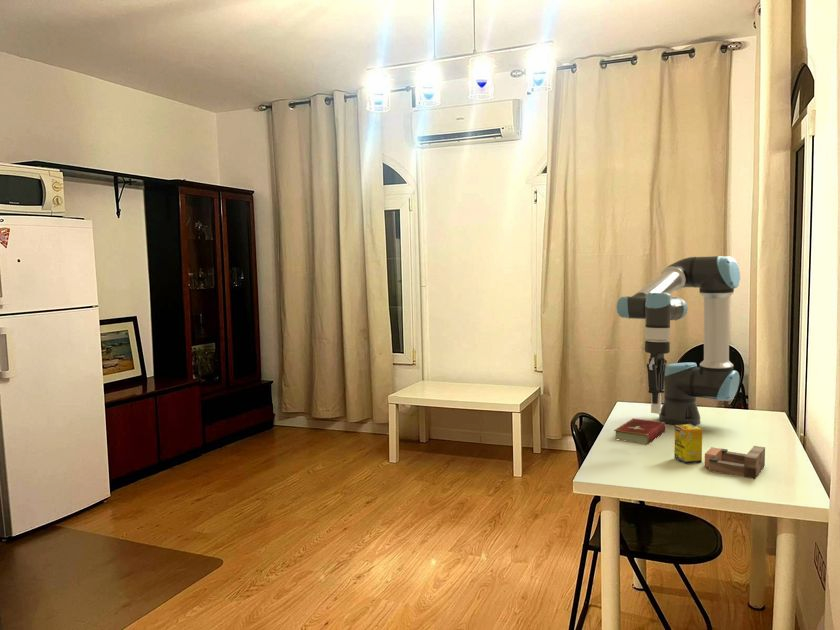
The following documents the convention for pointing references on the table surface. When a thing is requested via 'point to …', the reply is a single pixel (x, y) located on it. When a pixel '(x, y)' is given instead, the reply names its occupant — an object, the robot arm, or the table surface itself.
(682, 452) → the supplement box
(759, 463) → the dock
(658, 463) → the table surface
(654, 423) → the hardcover book
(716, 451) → the block
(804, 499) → the table surface
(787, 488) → the table surface
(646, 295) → the robot arm
